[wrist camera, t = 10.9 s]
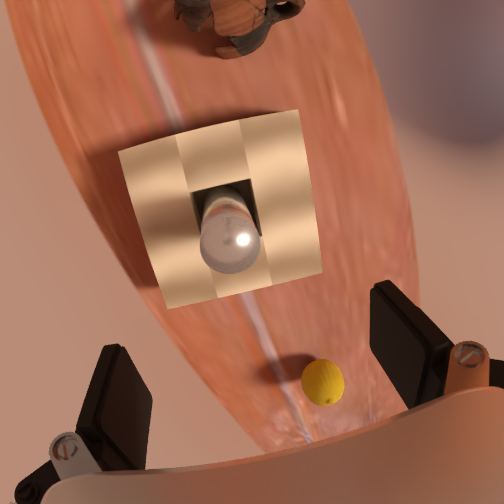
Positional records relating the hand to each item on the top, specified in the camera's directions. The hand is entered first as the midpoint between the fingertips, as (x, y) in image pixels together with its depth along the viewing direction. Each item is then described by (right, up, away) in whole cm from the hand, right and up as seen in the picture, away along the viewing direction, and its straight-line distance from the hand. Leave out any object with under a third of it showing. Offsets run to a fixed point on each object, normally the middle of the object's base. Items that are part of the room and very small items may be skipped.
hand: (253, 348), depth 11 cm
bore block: (-3, +9, +22) cm, 24 cm away
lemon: (+9, -12, +32) cm, 35 cm away
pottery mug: (-2, +27, +15) cm, 31 cm away
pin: (-3, +8, +21) cm, 23 cm away
